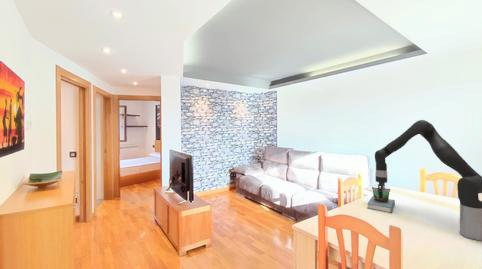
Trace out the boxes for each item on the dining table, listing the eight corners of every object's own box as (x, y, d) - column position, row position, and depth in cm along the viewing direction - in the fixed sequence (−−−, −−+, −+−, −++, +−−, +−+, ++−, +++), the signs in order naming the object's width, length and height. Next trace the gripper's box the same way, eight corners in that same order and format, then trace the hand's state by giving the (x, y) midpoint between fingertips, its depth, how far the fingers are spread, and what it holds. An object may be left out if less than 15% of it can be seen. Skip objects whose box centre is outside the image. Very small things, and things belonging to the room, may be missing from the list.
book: (391, 213, 150) (391, 207, 150) (367, 208, 160) (367, 203, 160) (394, 205, 165) (394, 200, 165) (372, 201, 175) (372, 196, 175)
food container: (372, 201, 162) (372, 188, 161) (371, 198, 167) (371, 186, 167) (391, 203, 156) (391, 189, 156) (390, 200, 161) (390, 187, 161)
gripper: (385, 178, 154) (386, 201, 154) (388, 174, 164) (388, 196, 165) (373, 176, 159) (374, 199, 159) (377, 173, 169) (377, 194, 170)
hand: (381, 197), depth 162 cm, fingers closed on food container, 5 cm apart
